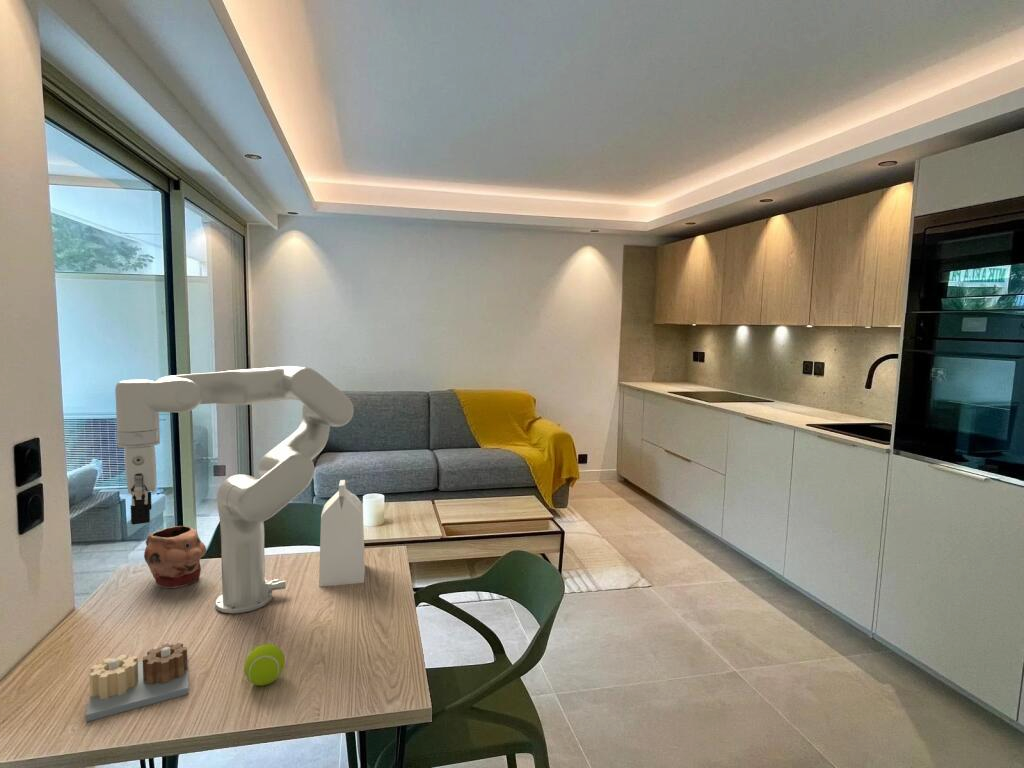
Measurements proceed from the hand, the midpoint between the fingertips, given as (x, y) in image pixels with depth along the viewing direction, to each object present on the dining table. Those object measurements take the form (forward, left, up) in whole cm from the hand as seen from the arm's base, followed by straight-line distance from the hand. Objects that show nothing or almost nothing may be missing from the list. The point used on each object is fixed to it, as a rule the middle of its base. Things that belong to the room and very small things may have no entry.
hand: (141, 516), depth 120 cm
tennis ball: (-20, +31, -27) cm, 45 cm away
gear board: (0, +21, -26) cm, 34 cm away
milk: (-45, -10, -27) cm, 53 cm away
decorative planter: (-5, -28, -26) cm, 39 cm away
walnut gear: (-4, +21, -25) cm, 33 cm away
